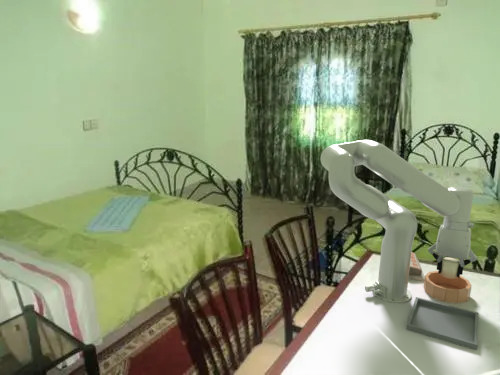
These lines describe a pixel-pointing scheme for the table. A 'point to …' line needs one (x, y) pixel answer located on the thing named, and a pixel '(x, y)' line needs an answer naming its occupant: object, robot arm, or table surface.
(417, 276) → the packaged product
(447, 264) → the egg
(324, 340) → the table surface
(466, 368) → the table surface
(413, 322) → the tray
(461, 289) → the bowl
